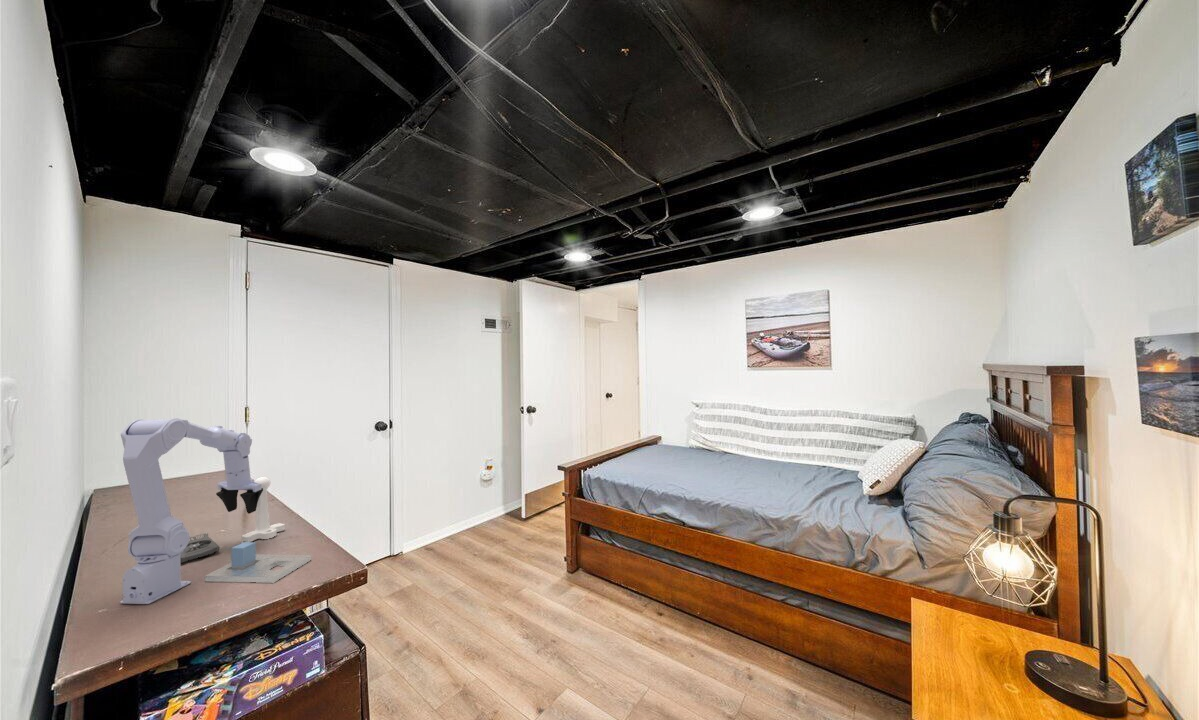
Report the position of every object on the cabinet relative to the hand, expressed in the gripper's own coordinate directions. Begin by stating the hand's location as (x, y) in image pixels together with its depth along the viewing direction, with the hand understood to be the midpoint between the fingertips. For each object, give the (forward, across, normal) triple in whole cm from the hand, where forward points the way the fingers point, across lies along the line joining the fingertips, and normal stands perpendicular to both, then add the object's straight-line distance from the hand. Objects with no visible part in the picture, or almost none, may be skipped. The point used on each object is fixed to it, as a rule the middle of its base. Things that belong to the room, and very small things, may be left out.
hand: (242, 511), depth 128 cm
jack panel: (+9, -23, +14) cm, 28 cm away
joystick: (+12, -1, -5) cm, 13 cm away
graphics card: (+11, +10, +8) cm, 17 cm away
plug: (+9, -18, +14) cm, 24 cm away
